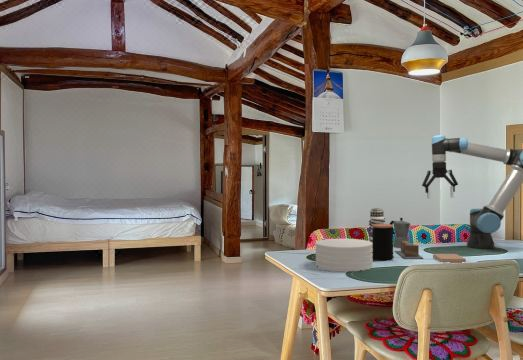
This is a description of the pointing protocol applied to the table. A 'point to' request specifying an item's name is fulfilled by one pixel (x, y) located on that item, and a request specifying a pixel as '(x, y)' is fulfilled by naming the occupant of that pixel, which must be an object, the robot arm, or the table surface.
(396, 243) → the coffeepot
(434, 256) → the glazed tile
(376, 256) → the coffee jar
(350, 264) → the plate stack
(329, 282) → the table surface
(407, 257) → the rubber mat
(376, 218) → the decorative candle
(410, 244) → the brown wooden block
